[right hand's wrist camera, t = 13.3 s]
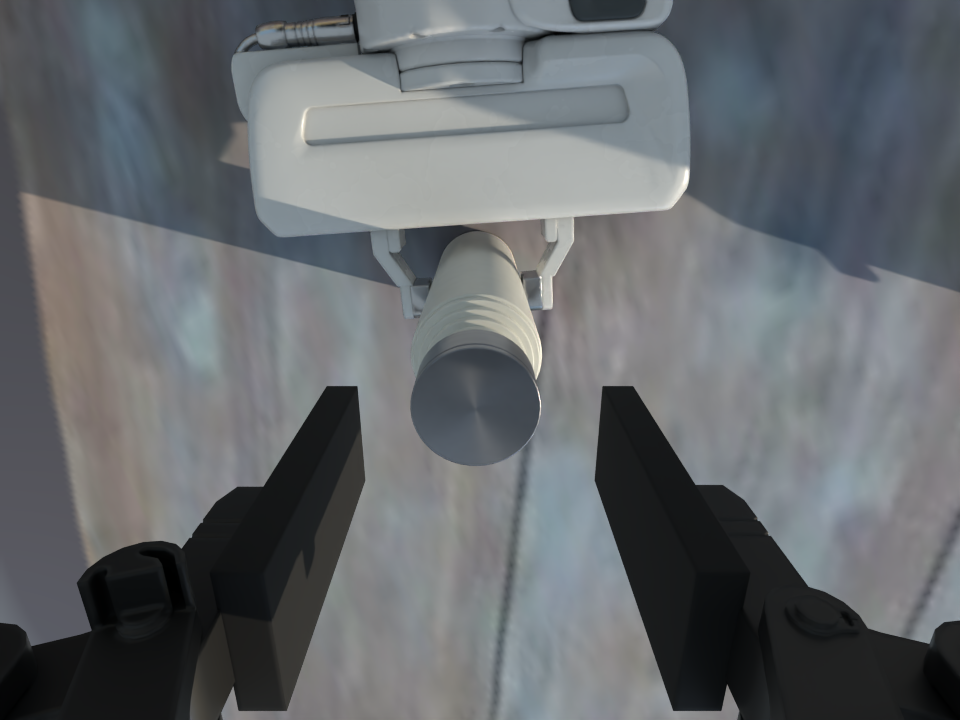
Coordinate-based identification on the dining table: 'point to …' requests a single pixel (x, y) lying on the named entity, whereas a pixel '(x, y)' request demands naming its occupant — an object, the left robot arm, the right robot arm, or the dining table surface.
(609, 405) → the right robot arm
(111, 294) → the dining table surface
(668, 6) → the left robot arm
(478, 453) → the cap
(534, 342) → the bottle
